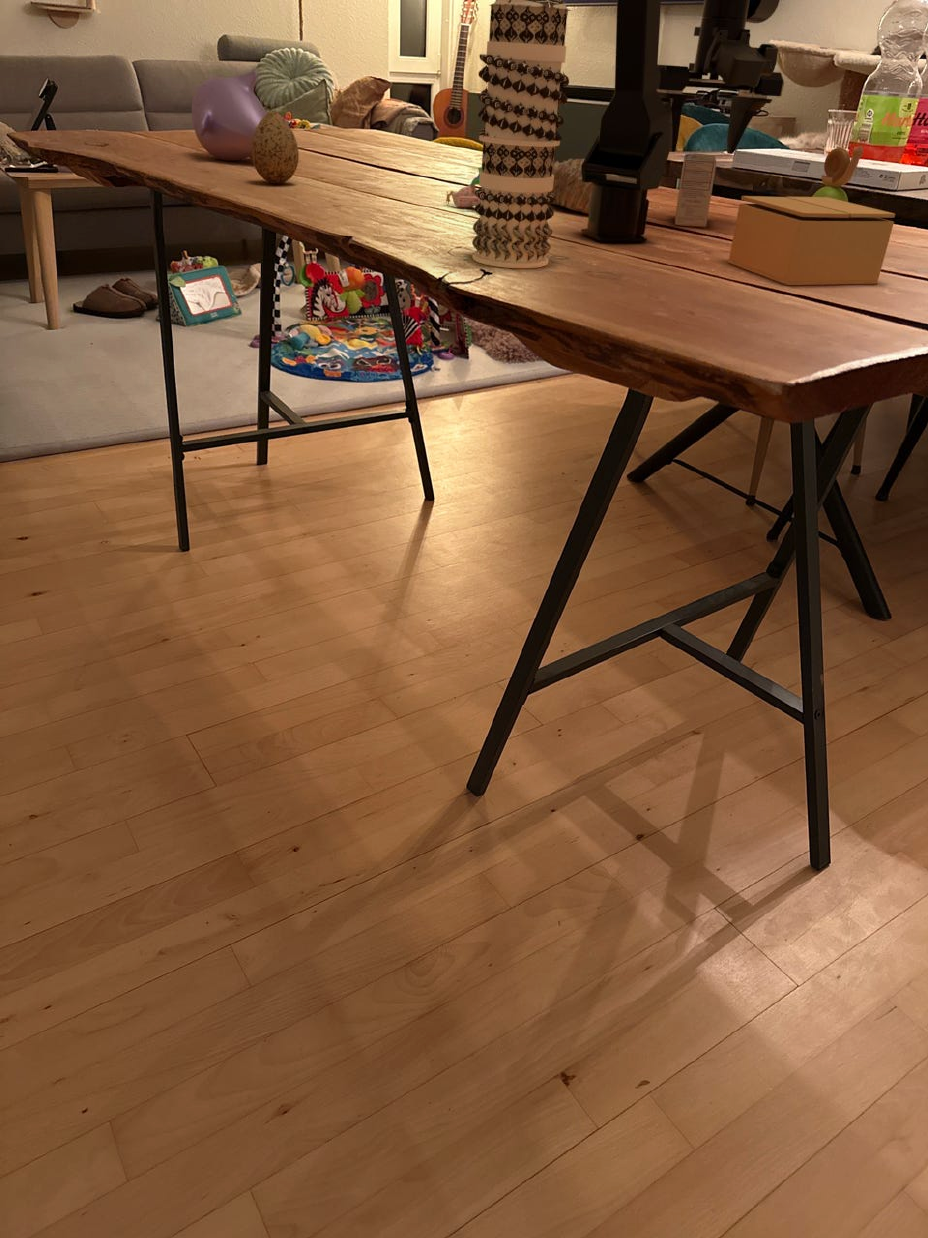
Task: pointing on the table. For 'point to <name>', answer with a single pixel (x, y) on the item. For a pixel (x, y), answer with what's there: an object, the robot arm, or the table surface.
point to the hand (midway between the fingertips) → (701, 152)
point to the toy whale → (227, 115)
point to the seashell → (571, 186)
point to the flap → (795, 207)
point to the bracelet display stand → (520, 131)
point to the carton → (812, 243)
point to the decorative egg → (274, 149)
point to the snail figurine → (839, 172)
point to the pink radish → (466, 194)
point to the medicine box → (695, 190)
